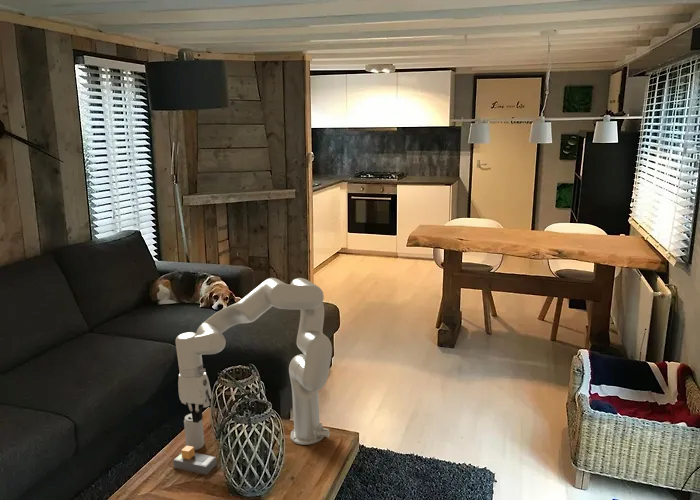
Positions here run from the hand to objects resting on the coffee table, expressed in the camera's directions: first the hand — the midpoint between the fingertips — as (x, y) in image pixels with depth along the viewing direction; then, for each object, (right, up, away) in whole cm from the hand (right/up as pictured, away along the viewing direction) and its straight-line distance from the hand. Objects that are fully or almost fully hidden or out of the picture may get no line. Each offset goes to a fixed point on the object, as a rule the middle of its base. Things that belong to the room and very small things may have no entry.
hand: (197, 420), depth 190 cm
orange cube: (-4, -14, +4) cm, 15 cm away
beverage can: (-5, -15, +16) cm, 23 cm away
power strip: (-2, -17, +4) cm, 18 cm away
